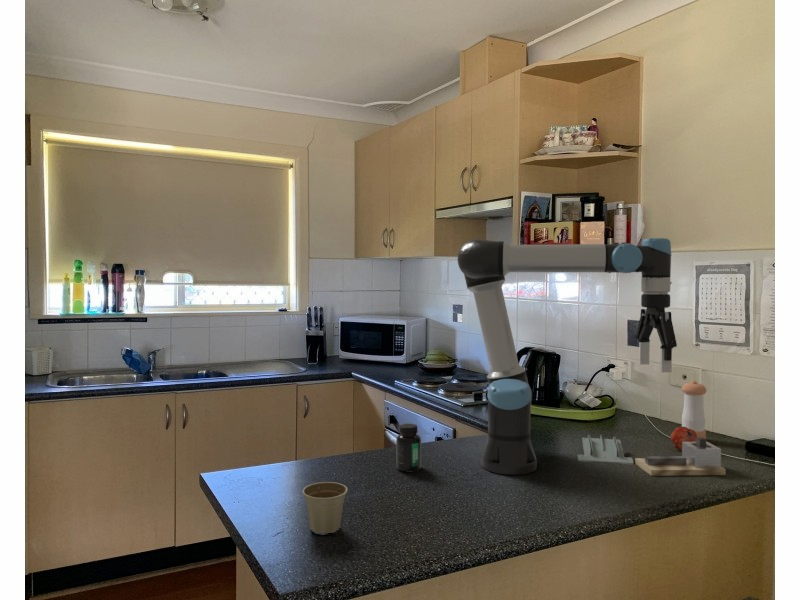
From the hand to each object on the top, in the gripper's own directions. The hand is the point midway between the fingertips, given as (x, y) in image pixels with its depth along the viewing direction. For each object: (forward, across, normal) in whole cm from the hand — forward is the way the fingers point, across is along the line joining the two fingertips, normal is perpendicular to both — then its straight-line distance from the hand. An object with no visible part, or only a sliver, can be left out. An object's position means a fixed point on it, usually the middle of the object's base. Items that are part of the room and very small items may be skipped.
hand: (654, 368), depth 167 cm
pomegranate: (+27, +10, -14) cm, 32 cm away
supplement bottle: (+27, -4, +70) cm, 75 cm away
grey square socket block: (+25, -7, -10) cm, 28 cm away
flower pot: (+27, -42, +89) cm, 102 cm away
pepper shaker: (+27, +20, -22) cm, 40 cm away
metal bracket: (+27, +5, +12) cm, 31 cm away
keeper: (+27, -7, -4) cm, 28 cm away
